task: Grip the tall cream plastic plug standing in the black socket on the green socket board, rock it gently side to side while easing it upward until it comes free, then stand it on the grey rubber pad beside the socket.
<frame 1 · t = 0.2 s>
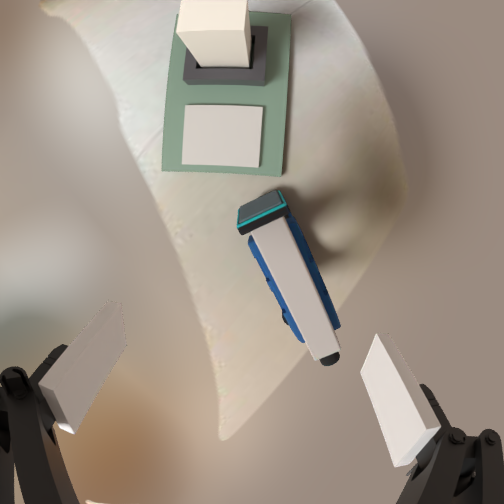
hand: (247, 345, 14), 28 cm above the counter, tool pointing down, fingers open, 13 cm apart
green socket board: (226, 86, 34), on the counter
plug: (228, 58, 32), point 1 cm above the counter, touching green socket board
handheld scanner: (282, 234, 41), on the counter
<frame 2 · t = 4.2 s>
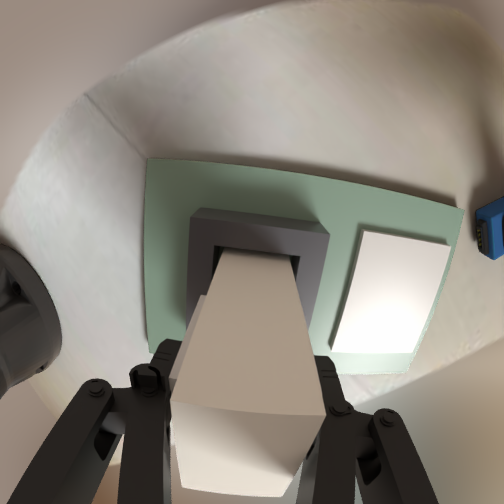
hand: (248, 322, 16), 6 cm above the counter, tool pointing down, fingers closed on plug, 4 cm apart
green socket board: (305, 284, 22), on the counter
plug: (251, 283, 21), point 1 cm above the counter, touching gripper, green socket board
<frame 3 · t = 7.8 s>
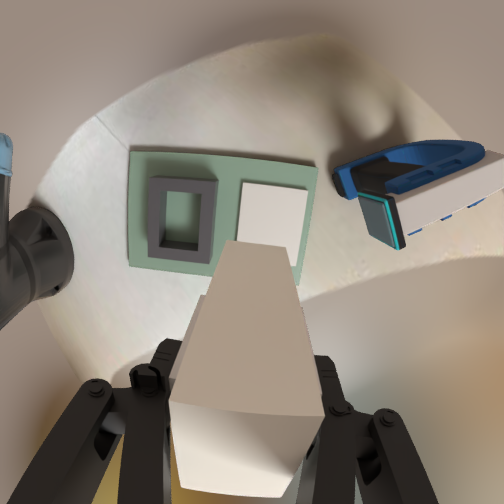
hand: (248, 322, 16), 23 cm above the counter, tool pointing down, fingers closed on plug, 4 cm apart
green socket board: (216, 217, 38), on the counter
plug: (251, 283, 21), point 18 cm above the counter, touching gripper
handheld scanner: (373, 170, 36), on the counter
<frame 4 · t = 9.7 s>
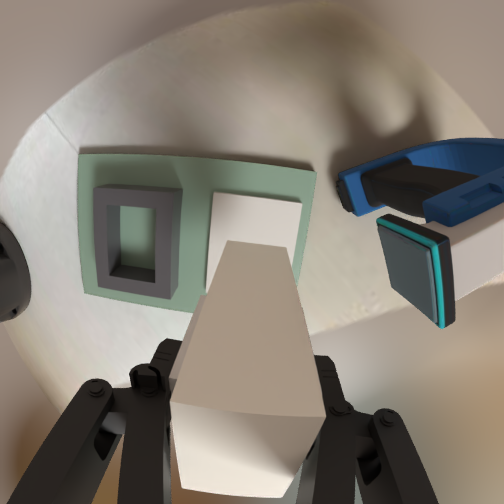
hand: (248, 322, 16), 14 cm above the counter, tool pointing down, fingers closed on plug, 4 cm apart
green socket board: (182, 237, 29), on the counter
plug: (251, 283, 21), point 9 cm above the counter, touching gripper
handheld scanner: (390, 176, 26), on the counter
when the fingers open (8 cm above the counter, at t = 11.4 s): plug drops 1 cm, resting on green socket board.
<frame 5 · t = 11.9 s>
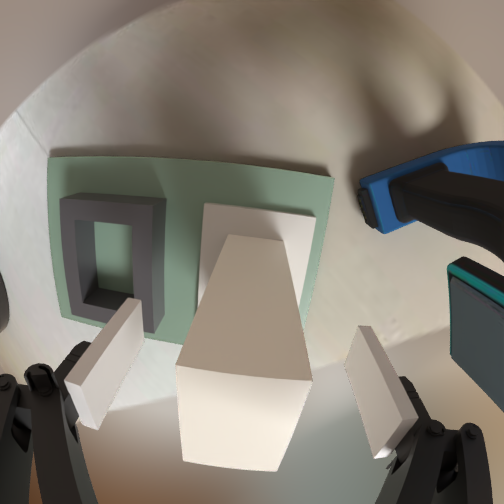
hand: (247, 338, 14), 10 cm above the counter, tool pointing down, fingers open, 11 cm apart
green socket board: (168, 256, 23), on the counter
plug: (251, 275, 22), point 2 cm above the counter, touching green socket board
handheld scanner: (419, 184, 21), on the counter
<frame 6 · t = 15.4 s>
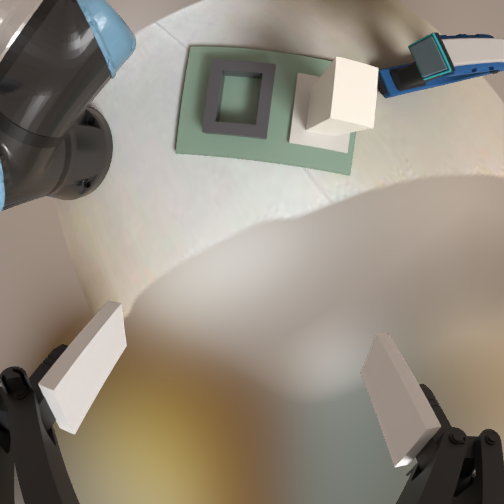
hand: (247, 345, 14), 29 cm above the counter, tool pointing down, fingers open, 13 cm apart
green socket board: (270, 105, 36), on the counter
plug: (323, 111, 34), point 2 cm above the counter, touching green socket board
handheld scanner: (407, 80, 33), on the counter
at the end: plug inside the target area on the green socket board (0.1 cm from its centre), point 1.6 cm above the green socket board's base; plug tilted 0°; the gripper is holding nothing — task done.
